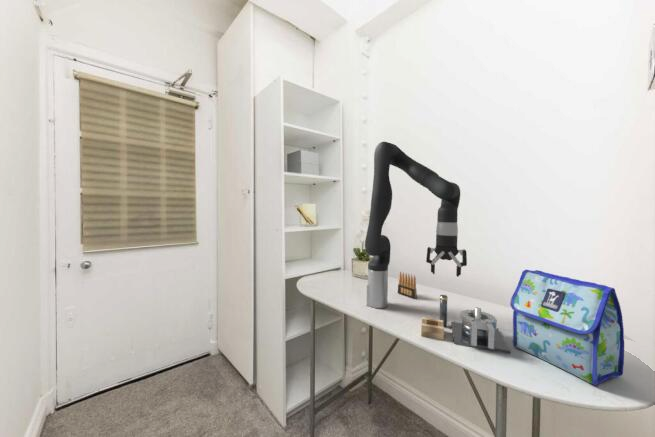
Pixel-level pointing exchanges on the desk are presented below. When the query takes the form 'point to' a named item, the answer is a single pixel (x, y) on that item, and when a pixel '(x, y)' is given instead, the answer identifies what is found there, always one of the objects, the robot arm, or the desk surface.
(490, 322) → the grey cube ring
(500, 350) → the chuck base
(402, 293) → the ammunition clip
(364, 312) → the desk surface
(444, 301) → the dark grey cylinder
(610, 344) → the lunch bag
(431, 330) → the holder
